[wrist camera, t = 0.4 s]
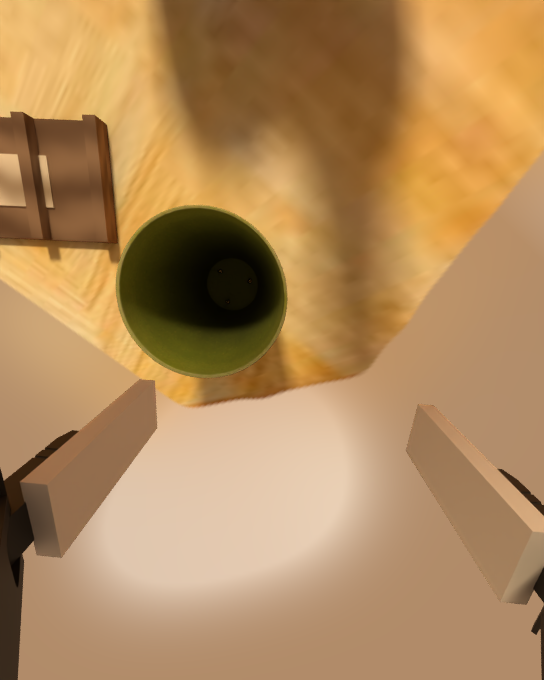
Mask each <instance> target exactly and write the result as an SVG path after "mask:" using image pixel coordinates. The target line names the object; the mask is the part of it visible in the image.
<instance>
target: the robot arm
mask: <svg viewBox="0 0 544 680" xmlns="http://www.w3.org/2000/svg"><path fill="white" fill-rule="evenodd" d="M156 429H157V416H156V395H155V381H153V380H142V379H139V381H137V382H136V383H135V384H134V385H133V386H131V387H130V388H129V389H128V390H127V391H125V392H124V393H123V394H122V395H121V396H120V397H119V398H117V399H116V400H115V401H114V402H113V403H111V404H110V405H109V406H108V407H107V408H106V409H104V410H103V411H102V412H101V413H100V414H99V415H97V417H95V418H94V419H93V420H92V421H90V422H89V423H88V424H87V425H86V426H85V427H83V428H82V429H81V430H80V431H74V430H72V431H70V432H68V433H66V434H65V435H63V436H60V437H58V438H57V439H55V440H54V441H53V442H52V443H50V445H48V446H47V447H46V448H45V450H42V451H41V452H39V453H38V454H37V455H36V456H35V458H32V459H31V460H29V461H28V462H27V463H26V464H24V465H23V466H22V467H21V468H19V469H18V470H17V471H16V472H14V473H13V474H12V475H11V476H9V477H8V478H7V479H6V480H5V481H4V480H3V477H2V473H1V469H0V680H18V663H19V644H20V626H21V607H22V589H23V571H24V559H23V555H22V553H23V552H24V551H25V550H26V549H27V548H28V546H29V545H30V544H31V543H32V542H33V541H34V545H35V550H36V554H37V555H41V556H50V557H60V558H62V557H63V555H64V554H65V552H66V551H67V550H68V548H69V547H70V546H71V544H72V543H73V541H74V540H75V539H76V538H77V536H78V535H79V533H80V532H81V531H82V529H83V528H84V527H85V525H86V524H87V522H88V521H89V520H90V518H91V517H92V516H93V514H94V513H95V512H96V510H97V509H98V508H99V506H100V505H101V503H102V502H103V501H104V500H105V498H106V496H107V495H108V494H109V493H110V491H111V490H112V489H113V487H114V486H115V485H116V483H117V482H118V481H119V479H120V478H121V476H122V475H123V474H124V472H125V471H126V470H127V468H128V467H129V466H130V464H131V463H132V461H133V460H134V459H135V457H136V456H137V455H138V453H139V452H140V451H141V449H142V448H143V446H144V445H145V444H146V443H147V441H148V440H149V438H150V437H151V436H152V434H153V433H154V432H155V430H156ZM406 452H407V453H408V455H409V457H410V458H411V460H412V461H413V463H414V465H415V466H416V468H417V470H418V471H419V472H420V474H421V476H422V478H423V479H424V481H425V482H426V484H427V486H428V487H429V489H430V490H431V492H432V493H433V495H434V497H435V498H436V500H437V502H438V503H439V505H440V506H441V508H442V510H443V511H444V513H445V514H446V516H447V518H448V519H449V521H450V523H451V524H452V526H453V527H454V529H455V531H456V532H457V534H458V535H459V537H460V539H461V540H462V542H463V543H464V545H465V547H466V548H467V550H468V551H469V553H470V554H471V556H472V558H473V559H474V561H475V563H476V564H477V566H478V567H479V569H480V571H481V572H482V574H483V575H484V577H485V579H486V580H487V582H488V584H489V585H490V587H491V588H492V590H493V592H494V593H495V594H496V596H497V598H498V600H499V601H500V602H506V603H515V604H525V605H526V604H527V603H528V601H529V599H530V596H531V595H532V592H533V591H534V590H535V592H536V593H537V594H538V596H539V597H540V598H541V599H542V601H543V602H544V505H542V504H541V502H540V501H539V500H538V499H537V498H536V497H535V496H534V495H531V493H530V491H529V490H528V489H527V488H526V487H525V486H523V485H522V484H521V483H520V482H519V481H518V480H517V479H515V478H514V477H513V476H511V475H510V474H508V473H507V472H505V471H504V470H502V469H496V468H495V467H494V466H493V465H492V464H491V463H490V462H489V460H487V458H486V457H484V456H483V454H481V453H480V451H479V450H477V448H476V447H475V446H474V445H473V444H471V442H470V441H469V440H467V438H465V436H463V434H462V433H461V432H460V431H459V430H457V428H456V427H455V426H454V425H453V424H452V423H451V422H450V421H448V419H447V418H446V417H445V416H444V415H443V414H442V413H441V412H440V411H439V410H438V409H437V408H436V407H435V406H433V405H422V404H418V407H417V410H416V414H415V418H414V422H413V426H412V429H411V434H410V437H409V441H408V445H407V449H406ZM539 629H541V663H542V664H541V666H542V680H544V606H543V608H542V610H541V612H540V614H539V616H538V618H537V620H536V621H535V623H534V625H533V628H532V630H531V631H532V632H533V633H534V634H537V632H538V631H539Z"/></svg>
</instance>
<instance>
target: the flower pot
mask: <svg viewBox="0 0 544 680" xmlns="http://www.w3.org/2000/svg"><path fill="white" fill-rule="evenodd" d="M219 270H222V273H220V272H218V271H219ZM249 279H251V280H252V282H251V283H249V282H248V280H249ZM116 297H117V303H118V307H119V311H120V314H121V317H122V320H123V322H124V324H125V326H126V328H127V330H128V332H129V333H130V335H131V337H132V338H133V339H134V341H135V342H136V343H137V345H138V346H139V347H140V348H141V349H142V350H143V351H144V352H145V353H146V354H147V355H148V356H149V357H151V358H152V359H153V360H154V361H156V362H157V363H159V364H160V365H162V366H164V367H165V368H167V369H169V370H172V371H174V372H176V373H179V374H182V375H186V376H190V377H197V378H217V377H223V376H227V375H231V374H234V373H237V372H239V371H241V370H244V369H245V368H247V367H249V366H251V365H252V364H254V363H255V362H256V361H258V360H259V359H260V358H261V357H262V356H263V355H264V354H265V353H266V352H267V351H268V350H269V349H270V347H271V346H272V345H273V343H274V342H275V340H276V339H277V337H278V335H279V333H280V331H281V328H282V326H283V323H284V320H285V315H286V309H287V286H286V280H285V276H284V272H283V269H282V266H281V264H280V261H279V259H278V257H277V255H276V253H275V251H274V250H273V248H272V246H271V245H270V243H269V242H268V241H267V240H266V238H265V237H264V236H263V235H262V234H261V233H260V232H259V231H258V230H257V229H256V228H255V227H254V226H253V225H251V224H250V223H249V222H247V221H246V220H244V219H243V218H241V217H239V216H238V215H236V214H234V213H232V212H229V211H227V210H224V209H221V208H217V207H213V206H207V205H185V206H180V207H175V208H172V209H168V210H166V211H164V212H161V213H159V214H157V215H156V216H154V217H152V218H151V219H149V220H148V221H147V222H145V223H144V224H143V225H142V226H141V227H140V228H139V229H138V230H137V231H136V232H135V234H134V235H133V236H132V237H131V239H130V240H129V242H128V243H127V245H126V247H125V249H124V251H123V253H122V255H121V258H120V261H119V264H118V269H117V275H116ZM227 300H229V301H230V302H229V303H226V301H227Z"/></svg>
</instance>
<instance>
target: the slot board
mask: <svg viewBox="0 0 544 680" xmlns="http://www.w3.org/2000/svg"><path fill="white" fill-rule="evenodd" d="M10 113H11V118H6V117H0V238H19V239H40V240H61V241H82V242H104V243H118V242H117V232H116V221H115V210H114V199H113V189H112V178H111V167H110V156H109V145H108V135H107V125H106V124H105V123H104V122H103V121H101V120H100V119H99V118H98V117H96V116H95V115H82V118H83V121H78V120H54V119H34V118H32V117H30V116H28V115H27V114H25V113H23V112H10Z"/></svg>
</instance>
